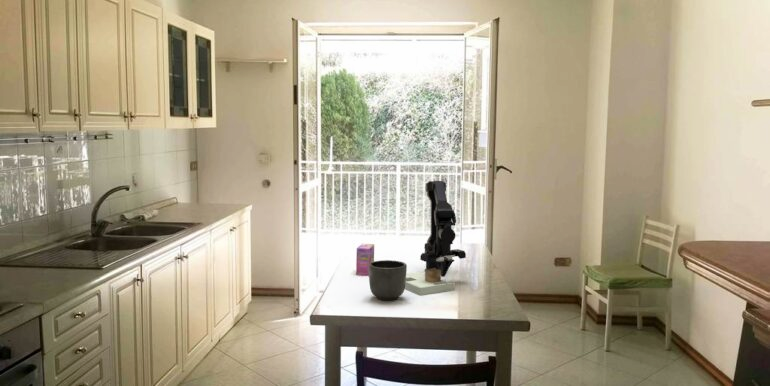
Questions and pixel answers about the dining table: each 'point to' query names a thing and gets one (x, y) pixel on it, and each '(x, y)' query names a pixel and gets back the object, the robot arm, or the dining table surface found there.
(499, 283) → the dining table surface
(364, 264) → the box
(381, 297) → the planter
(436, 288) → the trap tray
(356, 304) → the dining table surface
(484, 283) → the dining table surface
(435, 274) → the block
